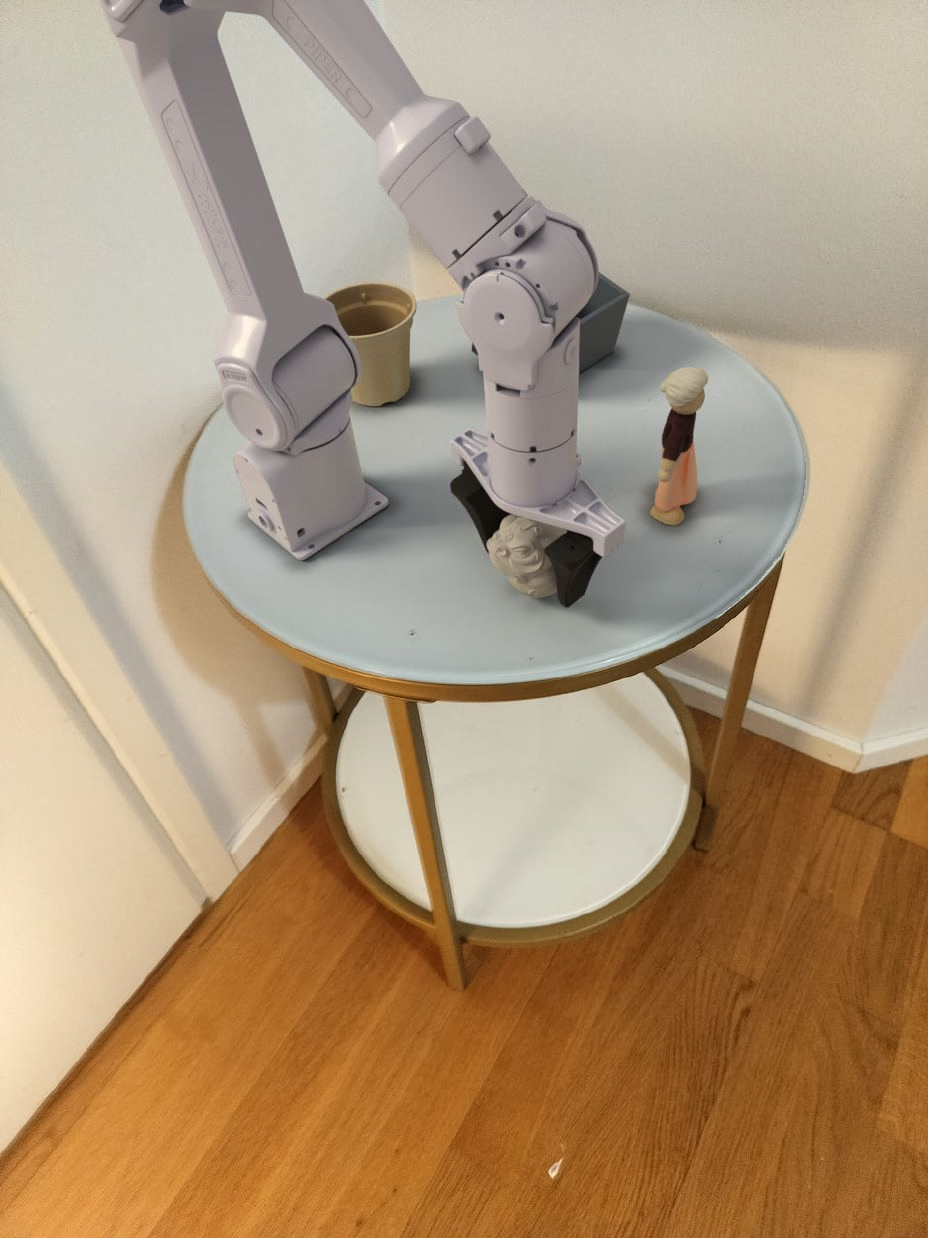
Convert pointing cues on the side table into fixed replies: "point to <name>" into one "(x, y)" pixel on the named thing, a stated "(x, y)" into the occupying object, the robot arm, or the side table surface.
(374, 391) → the flower pot
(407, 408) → the side table surface
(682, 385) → the grandmother figurine
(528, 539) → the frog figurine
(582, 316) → the basket
